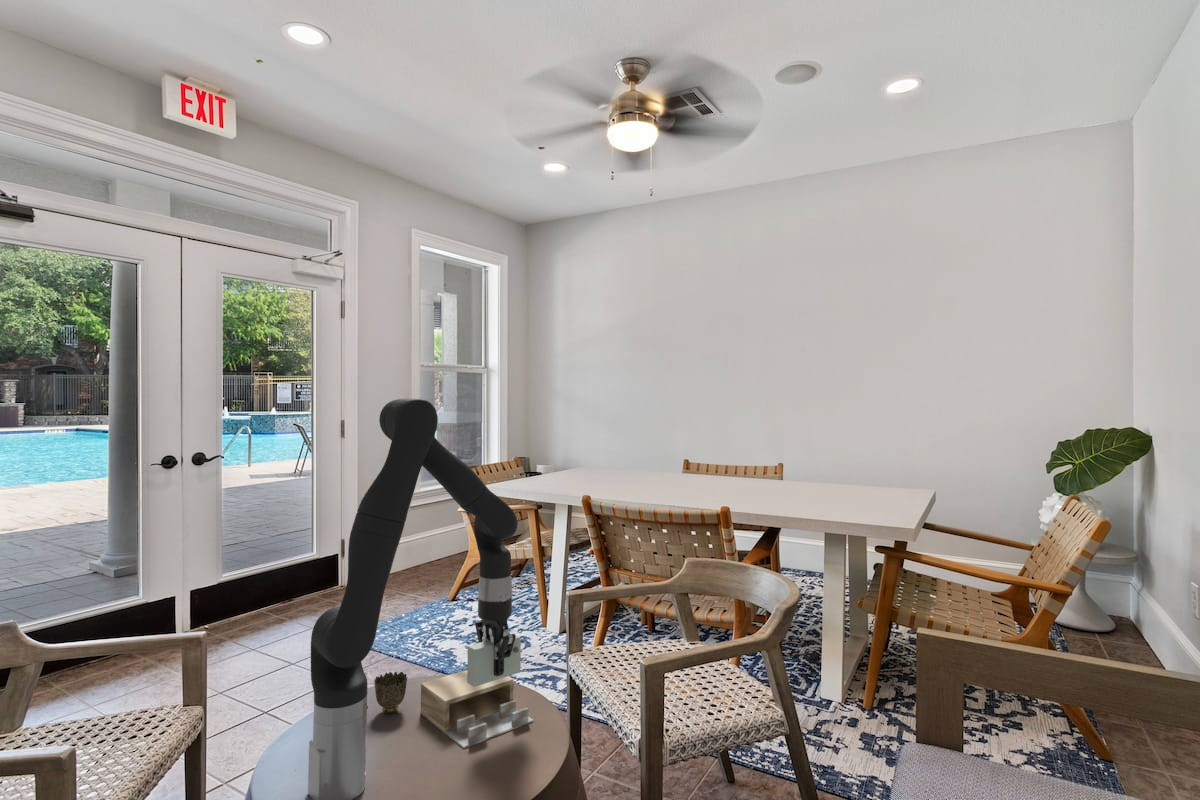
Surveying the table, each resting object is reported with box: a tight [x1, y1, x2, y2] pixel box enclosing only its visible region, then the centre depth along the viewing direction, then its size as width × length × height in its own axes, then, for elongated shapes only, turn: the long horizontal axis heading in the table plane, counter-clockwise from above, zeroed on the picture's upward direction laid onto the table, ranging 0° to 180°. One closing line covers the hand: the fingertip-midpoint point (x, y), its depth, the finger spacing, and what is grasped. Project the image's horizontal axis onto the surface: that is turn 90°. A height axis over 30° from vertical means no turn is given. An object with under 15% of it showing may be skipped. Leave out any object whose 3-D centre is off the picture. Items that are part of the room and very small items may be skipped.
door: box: [466, 633, 522, 687], centre depth 138 cm, size 12×4×8 cm, turn 132°
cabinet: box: [420, 669, 534, 750], centre depth 144 cm, size 18×20×7 cm
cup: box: [374, 671, 408, 715], centre depth 146 cm, size 8×7×8 cm
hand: (494, 672), depth 139 cm, fingers closed on door, 3 cm apart
